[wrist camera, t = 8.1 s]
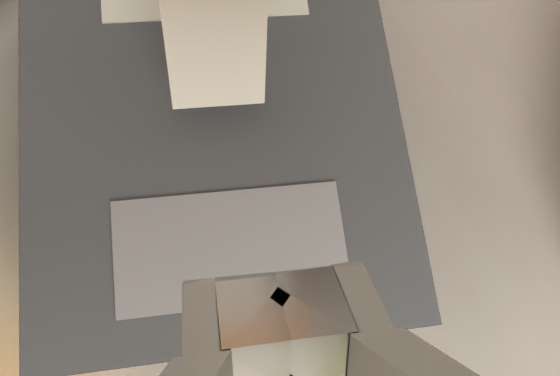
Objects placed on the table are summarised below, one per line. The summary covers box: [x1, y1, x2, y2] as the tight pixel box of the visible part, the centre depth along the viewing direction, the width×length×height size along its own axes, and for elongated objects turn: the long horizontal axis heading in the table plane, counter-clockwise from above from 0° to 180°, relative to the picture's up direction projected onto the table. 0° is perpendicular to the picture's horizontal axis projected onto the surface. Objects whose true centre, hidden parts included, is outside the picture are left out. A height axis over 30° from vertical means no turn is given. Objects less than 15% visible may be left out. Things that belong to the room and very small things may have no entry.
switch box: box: [19, 0, 442, 376], centre depth 23 cm, size 18×14×6 cm
